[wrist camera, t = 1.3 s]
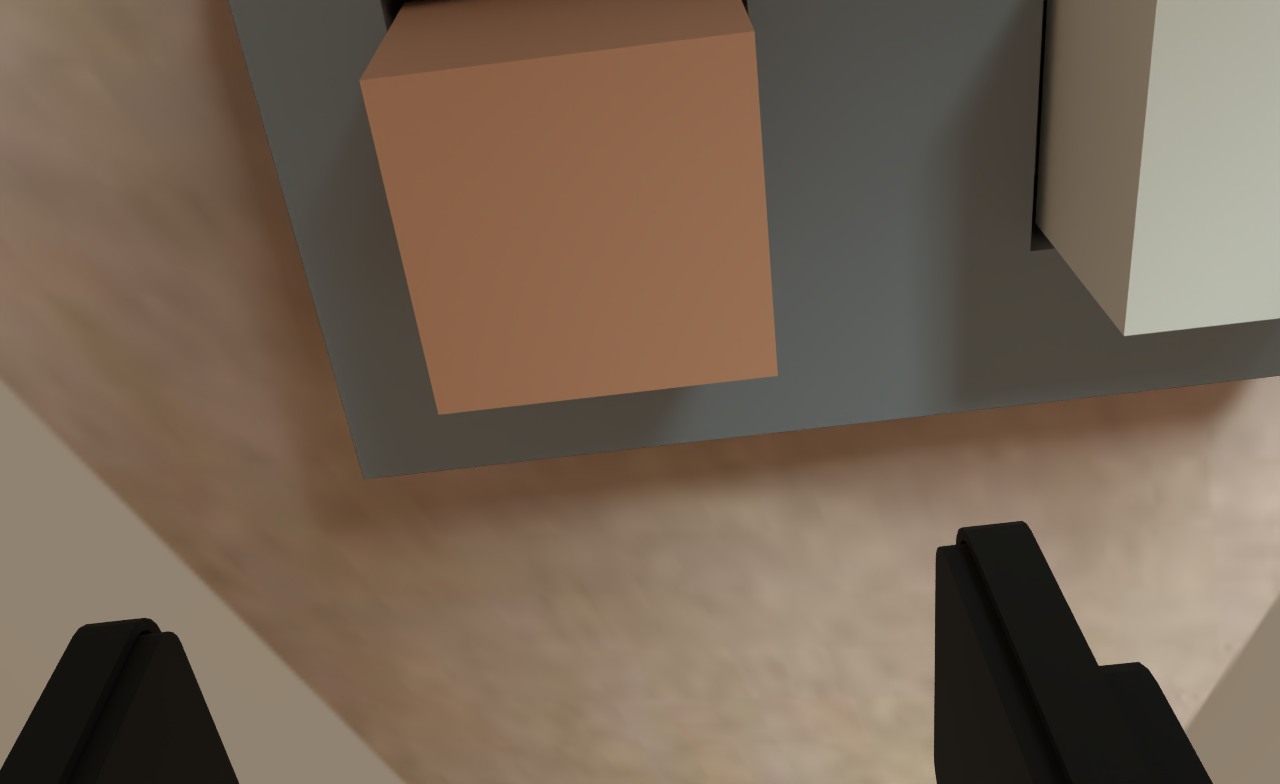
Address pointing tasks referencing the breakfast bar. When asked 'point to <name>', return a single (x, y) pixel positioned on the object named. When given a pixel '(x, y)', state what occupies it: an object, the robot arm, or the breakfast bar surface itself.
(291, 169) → the key panel
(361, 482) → the breakfast bar surface
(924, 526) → the breakfast bar surface
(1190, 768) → the robot arm
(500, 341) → the rust key
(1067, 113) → the cream key
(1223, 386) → the breakfast bar surface
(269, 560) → the breakfast bar surface
